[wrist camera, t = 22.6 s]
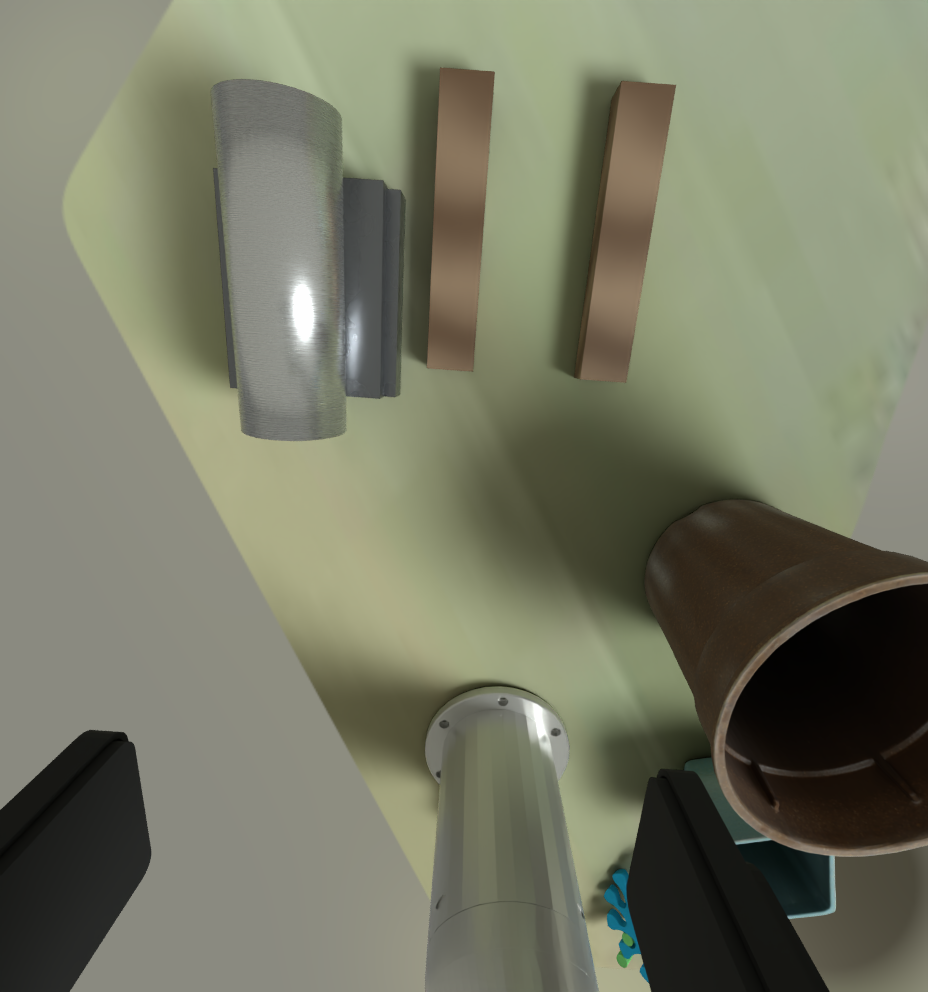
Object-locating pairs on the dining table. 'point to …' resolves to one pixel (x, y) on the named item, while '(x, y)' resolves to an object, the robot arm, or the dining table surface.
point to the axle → (283, 256)
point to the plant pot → (802, 673)
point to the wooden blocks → (616, 231)
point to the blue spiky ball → (617, 923)
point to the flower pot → (776, 857)
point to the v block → (359, 287)
